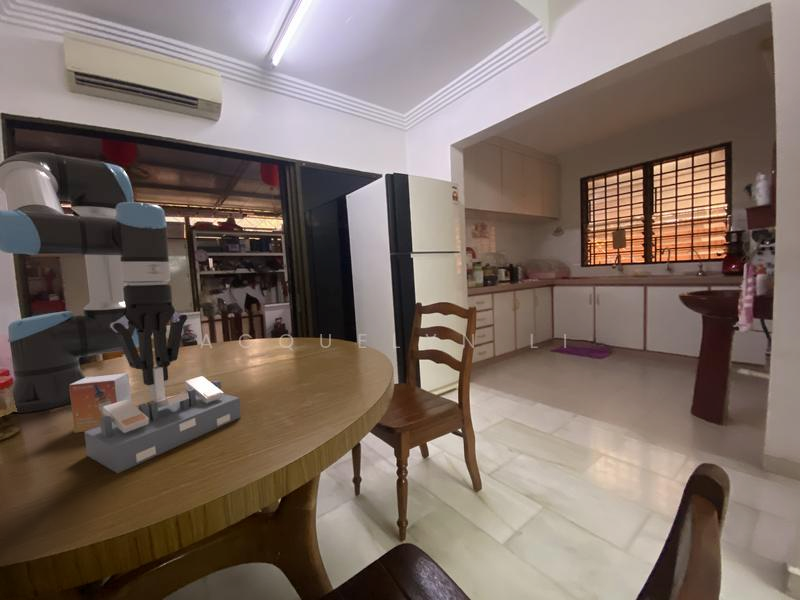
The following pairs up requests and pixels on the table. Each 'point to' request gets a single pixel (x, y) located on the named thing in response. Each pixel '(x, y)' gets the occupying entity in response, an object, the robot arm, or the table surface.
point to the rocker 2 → (172, 399)
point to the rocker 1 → (125, 415)
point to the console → (159, 430)
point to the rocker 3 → (204, 389)
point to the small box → (96, 398)
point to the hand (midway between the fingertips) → (157, 398)
